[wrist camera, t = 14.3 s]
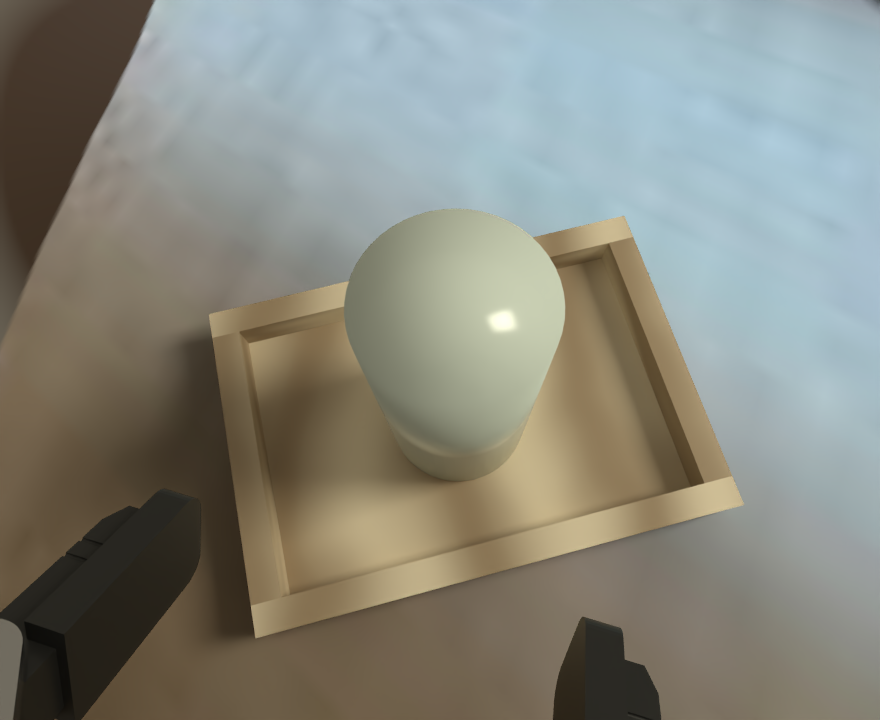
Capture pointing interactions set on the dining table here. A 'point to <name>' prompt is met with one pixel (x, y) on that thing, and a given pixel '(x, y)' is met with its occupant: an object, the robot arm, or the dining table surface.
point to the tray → (456, 502)
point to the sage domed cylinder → (455, 335)
